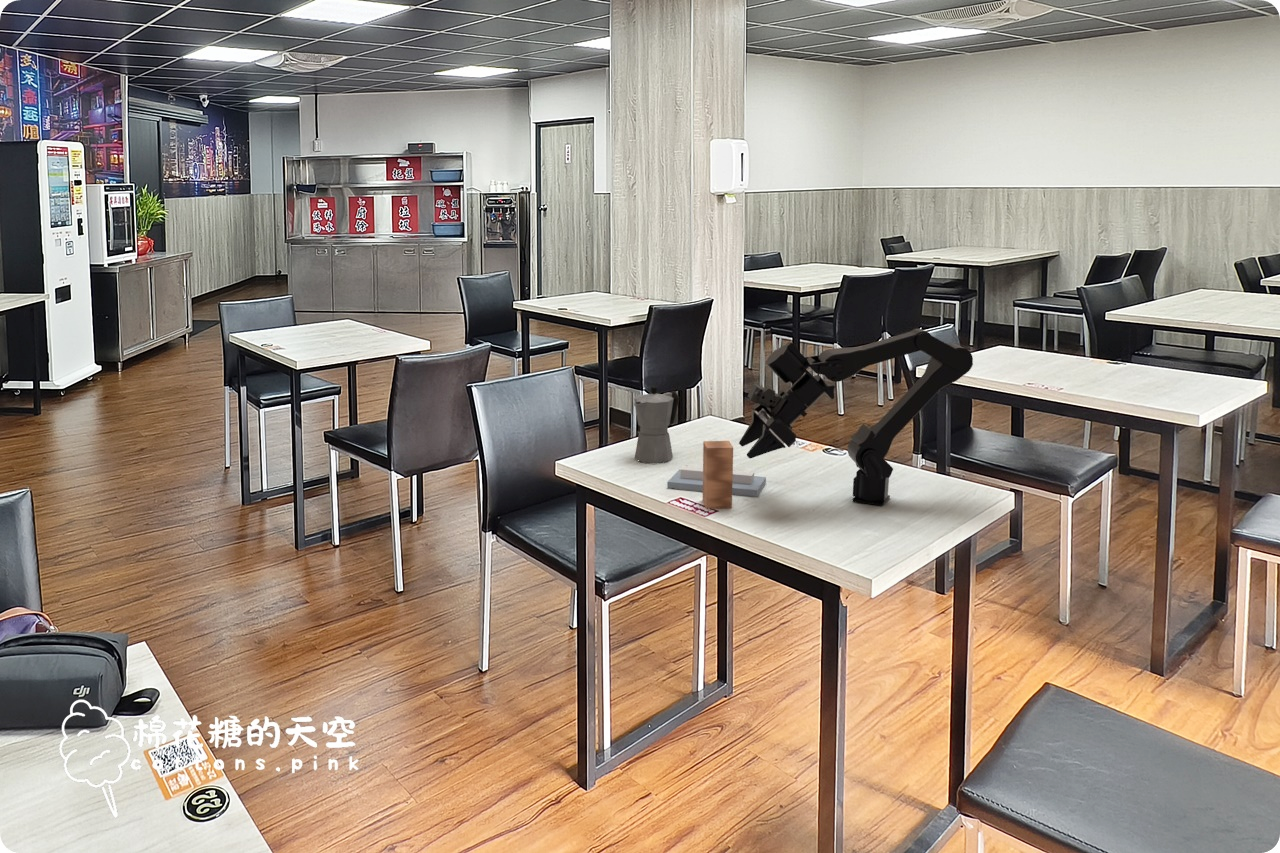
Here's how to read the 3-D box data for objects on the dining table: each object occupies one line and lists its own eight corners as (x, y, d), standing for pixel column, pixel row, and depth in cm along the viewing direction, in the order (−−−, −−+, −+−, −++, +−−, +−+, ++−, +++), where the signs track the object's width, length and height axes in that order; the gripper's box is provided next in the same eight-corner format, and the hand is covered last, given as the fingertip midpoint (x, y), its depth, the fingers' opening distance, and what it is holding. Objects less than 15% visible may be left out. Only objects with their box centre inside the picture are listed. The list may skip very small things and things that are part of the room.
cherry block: (727, 499, 214) (729, 440, 211) (731, 507, 209) (733, 447, 206) (702, 500, 214) (703, 441, 211) (706, 508, 209) (707, 448, 205)
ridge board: (765, 483, 225) (766, 468, 224) (756, 496, 216) (757, 481, 215) (679, 475, 231) (679, 460, 230) (667, 488, 222) (667, 473, 221)
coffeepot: (649, 468, 237) (649, 393, 232) (620, 460, 243) (620, 387, 239) (692, 455, 248) (693, 383, 243) (663, 448, 254) (663, 378, 250)
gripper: (763, 362, 214) (711, 413, 216) (782, 380, 196) (724, 436, 198) (798, 398, 217) (746, 448, 219) (820, 419, 199) (762, 473, 201)
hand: (744, 450), depth 209 cm, fingers open, 9 cm apart
